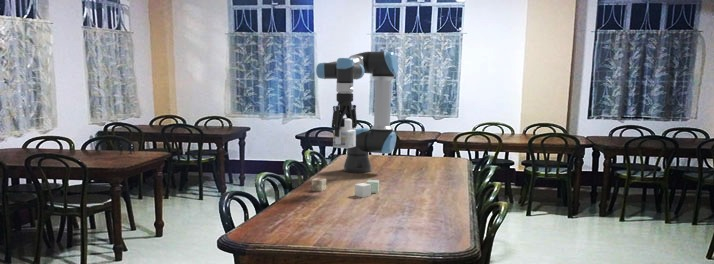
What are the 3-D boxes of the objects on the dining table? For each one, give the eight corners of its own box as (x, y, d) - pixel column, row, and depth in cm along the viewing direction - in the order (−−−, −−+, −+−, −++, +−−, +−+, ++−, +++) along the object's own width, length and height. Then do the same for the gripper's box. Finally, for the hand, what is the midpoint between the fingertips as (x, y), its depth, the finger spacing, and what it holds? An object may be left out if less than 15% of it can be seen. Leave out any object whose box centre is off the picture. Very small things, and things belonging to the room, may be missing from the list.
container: (332, 147, 235) (332, 118, 234) (341, 145, 242) (341, 117, 241) (347, 148, 232) (348, 119, 230) (355, 146, 239) (356, 118, 237)
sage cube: (366, 192, 234) (366, 181, 234) (368, 190, 239) (368, 179, 239) (377, 193, 234) (378, 182, 233) (378, 190, 239) (379, 180, 238)
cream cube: (354, 195, 229) (354, 184, 228) (363, 193, 232) (363, 182, 232) (362, 197, 225) (362, 186, 225) (370, 195, 229) (371, 184, 228)
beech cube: (311, 190, 238) (311, 179, 237) (316, 188, 242) (316, 177, 242) (321, 191, 236) (321, 180, 235) (326, 189, 240) (326, 178, 240)
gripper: (336, 93, 224) (335, 146, 226) (365, 92, 240) (364, 141, 243) (323, 93, 228) (322, 144, 231) (352, 91, 245) (352, 140, 247)
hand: (344, 142), depth 237 cm, fingers closed on container, 8 cm apart
